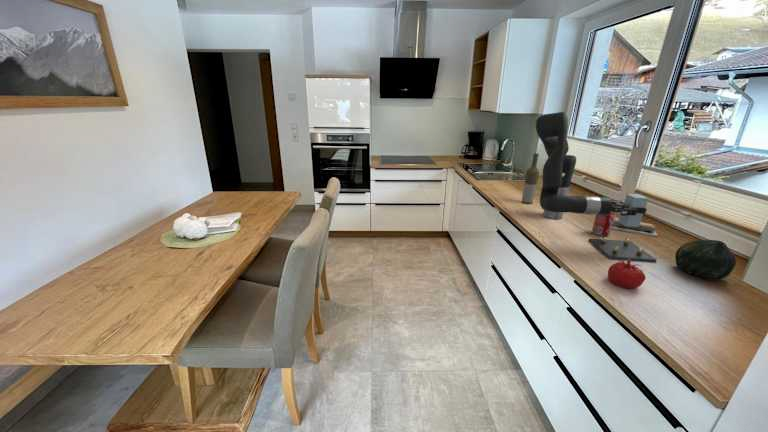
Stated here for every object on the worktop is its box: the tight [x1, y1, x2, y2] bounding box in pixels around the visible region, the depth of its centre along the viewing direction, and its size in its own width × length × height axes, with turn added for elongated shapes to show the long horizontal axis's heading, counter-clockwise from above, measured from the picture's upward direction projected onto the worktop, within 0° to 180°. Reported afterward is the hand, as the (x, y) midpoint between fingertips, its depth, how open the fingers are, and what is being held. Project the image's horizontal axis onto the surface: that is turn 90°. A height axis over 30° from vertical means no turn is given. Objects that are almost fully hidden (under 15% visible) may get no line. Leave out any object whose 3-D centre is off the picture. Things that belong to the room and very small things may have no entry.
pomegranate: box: [607, 259, 647, 289], centre depth 104 cm, size 10×10×9 cm
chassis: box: [588, 236, 658, 263], centre depth 128 cm, size 17×17×4 cm
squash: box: [674, 239, 737, 281], centre depth 110 cm, size 14×15×15 cm
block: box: [618, 193, 649, 227], centre depth 123 cm, size 5×5×12 cm
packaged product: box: [611, 217, 658, 238], centre depth 150 cm, size 18×5×10 cm
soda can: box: [591, 212, 616, 237], centre depth 144 cm, size 7×7×12 cm
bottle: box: [521, 152, 540, 205], centre depth 183 cm, size 7×7×30 cm
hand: (640, 208), depth 122 cm, fingers closed on block, 5 cm apart
